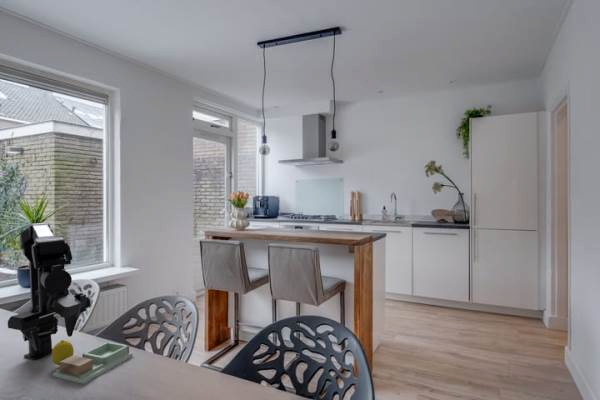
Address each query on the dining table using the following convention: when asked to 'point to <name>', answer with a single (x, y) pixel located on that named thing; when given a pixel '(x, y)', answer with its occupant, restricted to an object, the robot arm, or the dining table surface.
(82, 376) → the tray
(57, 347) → the lemon
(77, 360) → the tan rectangular block
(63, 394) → the dining table surface
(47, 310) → the robot arm
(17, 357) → the dining table surface
